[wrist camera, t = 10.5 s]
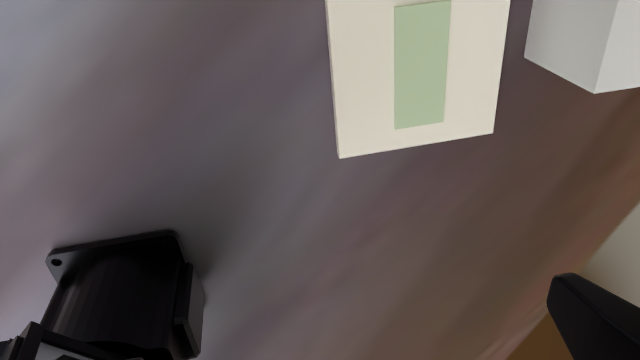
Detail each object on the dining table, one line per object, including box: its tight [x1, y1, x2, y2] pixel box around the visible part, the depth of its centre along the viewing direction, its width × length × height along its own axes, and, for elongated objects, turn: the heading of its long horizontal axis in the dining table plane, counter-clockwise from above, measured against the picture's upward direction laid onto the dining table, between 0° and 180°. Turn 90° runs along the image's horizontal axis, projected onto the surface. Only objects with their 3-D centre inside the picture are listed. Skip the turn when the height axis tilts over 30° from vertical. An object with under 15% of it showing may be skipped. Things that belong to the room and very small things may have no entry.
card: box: [325, 0, 510, 159], centre depth 20 cm, size 8×8×1 cm
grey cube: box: [524, 0, 640, 94], centre depth 18 cm, size 5×5×5 cm
